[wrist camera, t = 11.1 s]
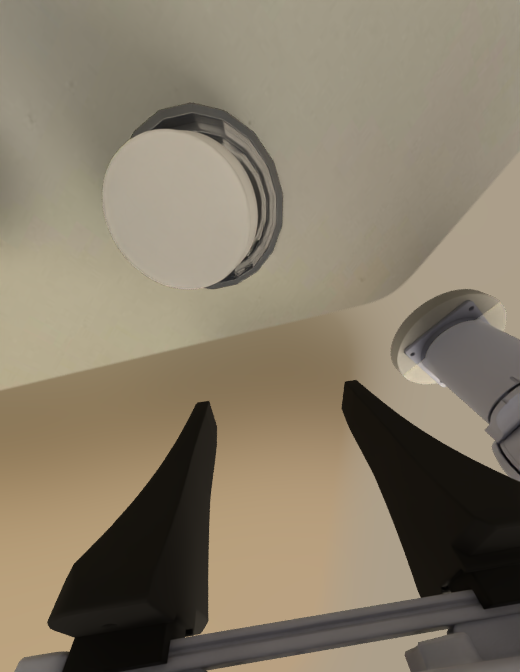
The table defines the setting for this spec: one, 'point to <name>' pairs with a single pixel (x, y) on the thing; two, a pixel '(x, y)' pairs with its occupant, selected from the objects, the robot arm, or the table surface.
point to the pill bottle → (179, 207)
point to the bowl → (254, 163)
